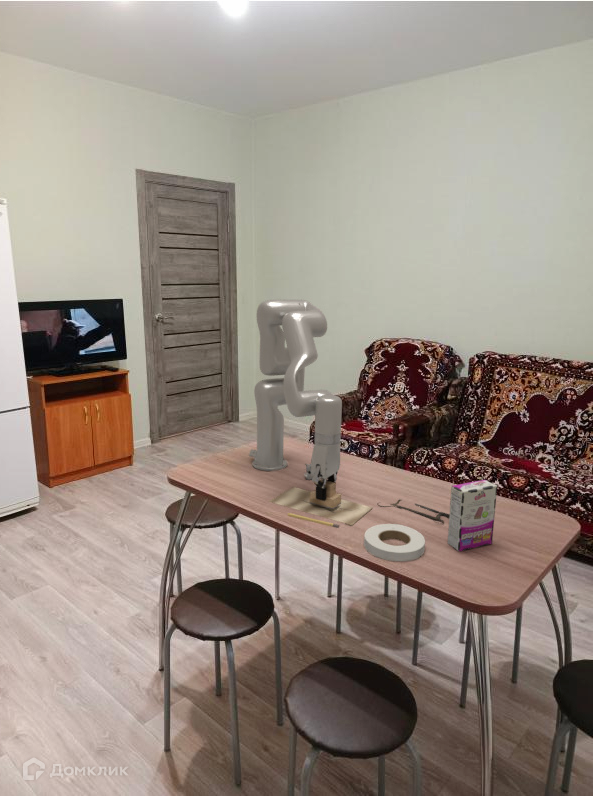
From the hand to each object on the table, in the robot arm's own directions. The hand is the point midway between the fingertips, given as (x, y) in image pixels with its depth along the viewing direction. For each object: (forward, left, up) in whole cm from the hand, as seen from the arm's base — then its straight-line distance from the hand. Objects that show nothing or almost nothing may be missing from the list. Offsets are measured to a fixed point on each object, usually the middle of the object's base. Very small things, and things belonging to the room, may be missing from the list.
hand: (325, 495), depth 162 cm
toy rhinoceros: (-14, +20, -4) cm, 25 cm away
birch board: (-2, 0, -4) cm, 4 cm away
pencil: (+1, -11, -4) cm, 12 cm away
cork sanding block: (0, 0, -2) cm, 2 cm away
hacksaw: (+24, +12, -4) cm, 28 cm away
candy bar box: (+42, +1, -4) cm, 42 cm away
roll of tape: (+26, -11, -4) cm, 29 cm away
